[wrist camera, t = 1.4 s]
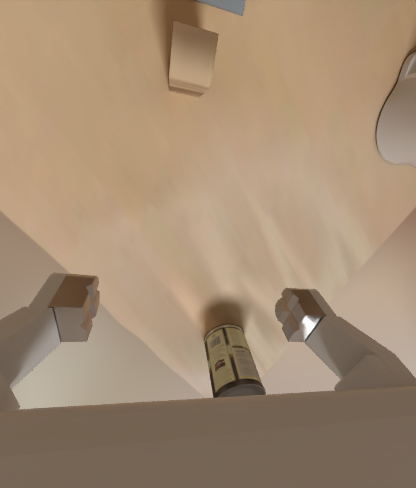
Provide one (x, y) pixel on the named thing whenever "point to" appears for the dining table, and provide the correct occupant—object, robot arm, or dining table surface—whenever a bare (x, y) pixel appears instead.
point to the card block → (191, 59)
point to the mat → (227, 5)
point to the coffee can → (231, 363)
